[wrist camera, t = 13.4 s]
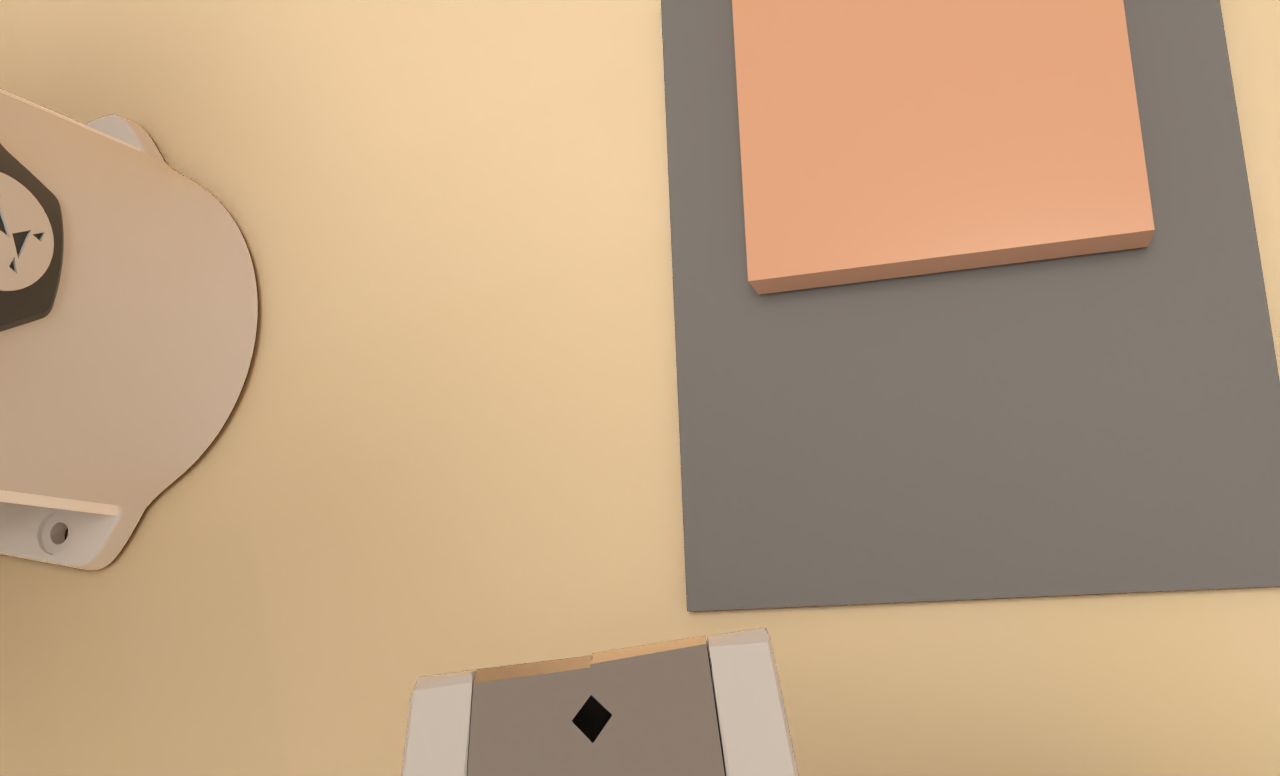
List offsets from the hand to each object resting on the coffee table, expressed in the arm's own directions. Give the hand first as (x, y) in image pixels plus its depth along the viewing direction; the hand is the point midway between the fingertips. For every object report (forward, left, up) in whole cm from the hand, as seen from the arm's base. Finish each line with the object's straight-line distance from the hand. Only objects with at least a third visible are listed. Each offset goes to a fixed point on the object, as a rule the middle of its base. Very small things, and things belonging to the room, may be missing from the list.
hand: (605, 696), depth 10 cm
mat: (+2, +12, -27) cm, 30 cm away
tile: (+2, +12, -26) cm, 28 cm away
